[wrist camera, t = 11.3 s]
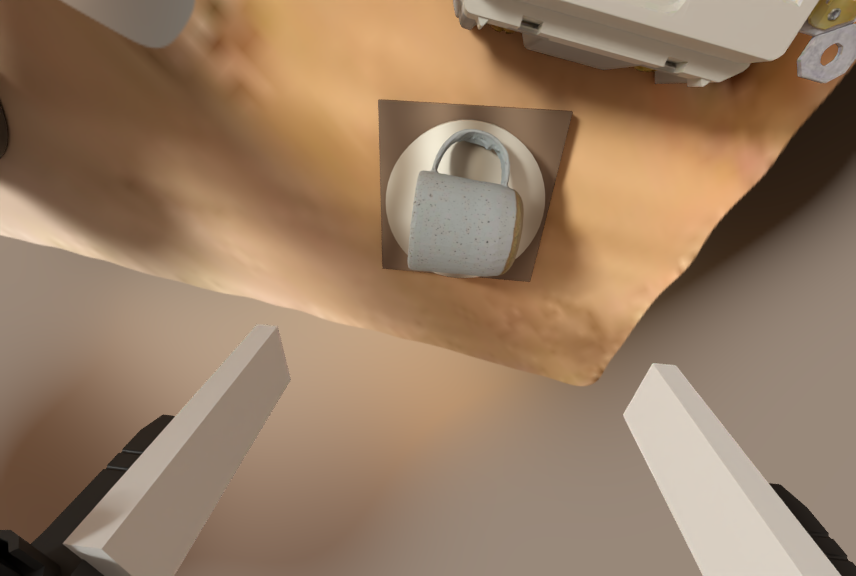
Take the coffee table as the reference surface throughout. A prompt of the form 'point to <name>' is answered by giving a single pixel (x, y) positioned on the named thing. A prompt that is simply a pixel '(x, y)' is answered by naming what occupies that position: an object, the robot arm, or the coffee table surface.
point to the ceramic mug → (465, 217)
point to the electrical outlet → (676, 33)
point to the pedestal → (467, 166)
